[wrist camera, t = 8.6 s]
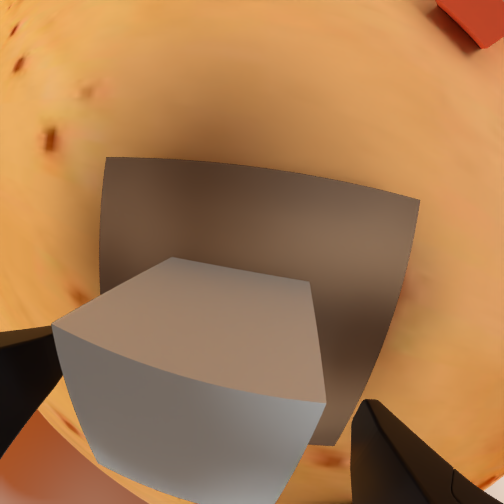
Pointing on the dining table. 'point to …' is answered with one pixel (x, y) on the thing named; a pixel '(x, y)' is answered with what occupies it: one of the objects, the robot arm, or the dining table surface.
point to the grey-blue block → (197, 379)
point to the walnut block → (271, 248)
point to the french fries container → (477, 18)
